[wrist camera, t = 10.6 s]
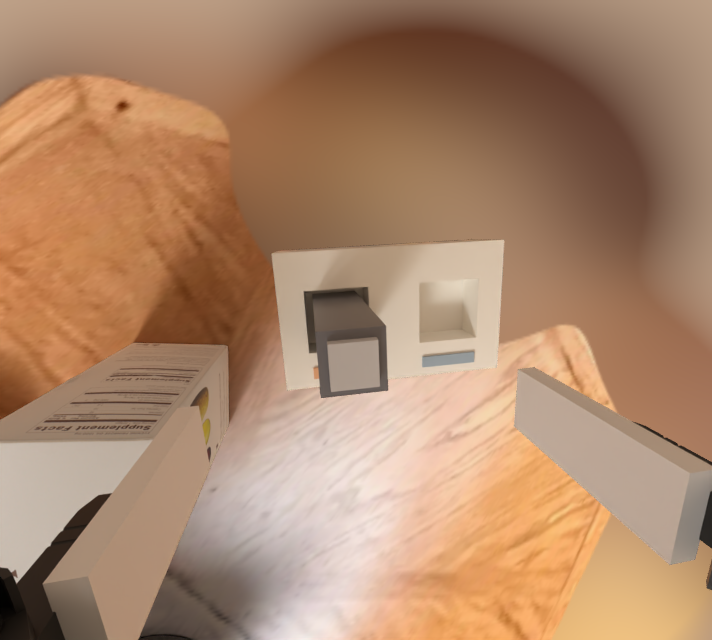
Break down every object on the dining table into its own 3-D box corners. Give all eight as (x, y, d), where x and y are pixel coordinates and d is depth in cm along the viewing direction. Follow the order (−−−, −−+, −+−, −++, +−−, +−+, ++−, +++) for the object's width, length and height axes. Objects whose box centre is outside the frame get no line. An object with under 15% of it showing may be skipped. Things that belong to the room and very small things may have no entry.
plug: (315, 335, 32) (321, 403, 19) (312, 293, 31) (315, 335, 18) (356, 331, 32) (390, 395, 19) (354, 290, 31) (388, 328, 18)
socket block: (290, 368, 35) (287, 394, 29) (277, 250, 32) (271, 253, 26) (468, 350, 38) (498, 371, 32) (471, 239, 35) (505, 239, 29)
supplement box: (230, 426, 36) (167, 580, 20) (138, 427, 35) (-11, 594, 18) (229, 342, 34) (156, 437, 18) (130, 339, 32) (-48, 441, 16)
